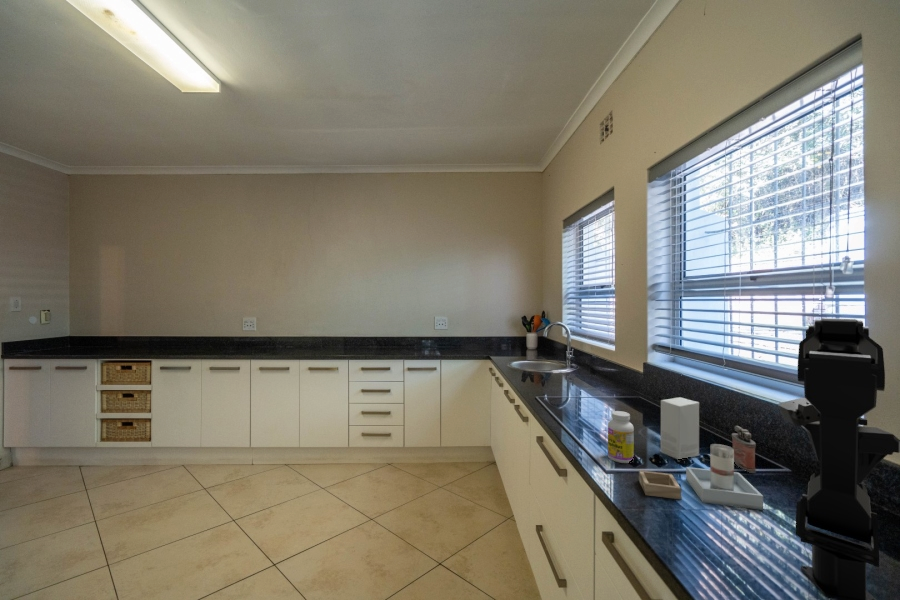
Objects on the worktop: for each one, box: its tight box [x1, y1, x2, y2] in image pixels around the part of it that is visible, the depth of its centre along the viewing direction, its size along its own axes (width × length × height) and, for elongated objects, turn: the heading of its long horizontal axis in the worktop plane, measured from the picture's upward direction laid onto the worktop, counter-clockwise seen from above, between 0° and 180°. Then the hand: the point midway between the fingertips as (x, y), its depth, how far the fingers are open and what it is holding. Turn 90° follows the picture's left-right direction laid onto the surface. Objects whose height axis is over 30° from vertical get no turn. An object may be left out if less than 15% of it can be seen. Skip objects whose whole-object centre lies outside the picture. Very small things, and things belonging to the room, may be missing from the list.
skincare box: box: [660, 396, 700, 460], centre depth 109 cm, size 8×7×16 cm
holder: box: [638, 469, 682, 500], centre depth 89 cm, size 7×7×2 cm
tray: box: [685, 466, 764, 511], centre depth 87 cm, size 11×11×3 cm
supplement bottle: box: [607, 410, 635, 464], centre depth 106 cm, size 7×7×13 cm
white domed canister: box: [709, 443, 735, 491], centre depth 87 cm, size 4×4×10 cm
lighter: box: [731, 425, 757, 474], centre depth 102 cm, size 8×3×10 cm, turn 168°
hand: (837, 470), depth 70 cm, fingers open, 9 cm apart
